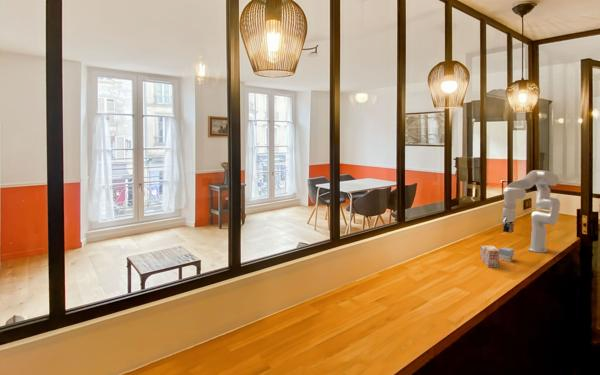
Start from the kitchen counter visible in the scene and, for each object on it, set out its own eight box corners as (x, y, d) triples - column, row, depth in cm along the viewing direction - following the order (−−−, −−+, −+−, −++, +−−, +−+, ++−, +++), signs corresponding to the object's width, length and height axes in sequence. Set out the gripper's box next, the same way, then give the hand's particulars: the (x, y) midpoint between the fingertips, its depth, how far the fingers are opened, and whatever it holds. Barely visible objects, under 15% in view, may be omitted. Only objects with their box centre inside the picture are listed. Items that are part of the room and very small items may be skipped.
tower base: (503, 257, 281) (504, 252, 280) (513, 260, 275) (513, 254, 275) (498, 259, 277) (499, 254, 276) (508, 262, 271) (509, 256, 271)
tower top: (504, 252, 281) (504, 247, 280) (513, 254, 275) (514, 249, 274) (498, 254, 277) (499, 248, 276) (508, 256, 271) (508, 251, 270)
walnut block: (506, 230, 277) (506, 222, 276) (513, 231, 273) (513, 223, 272) (502, 231, 274) (503, 223, 273) (509, 233, 270) (510, 224, 269)
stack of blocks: (479, 258, 280) (480, 241, 279) (489, 258, 279) (489, 242, 277) (488, 267, 259) (489, 250, 258) (498, 268, 258) (499, 250, 257)
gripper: (510, 204, 279) (508, 228, 281) (498, 206, 269) (496, 231, 271) (520, 205, 273) (519, 230, 275) (508, 208, 263) (507, 233, 265)
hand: (508, 230), depth 273 cm, fingers closed on walnut block, 5 cm apart
